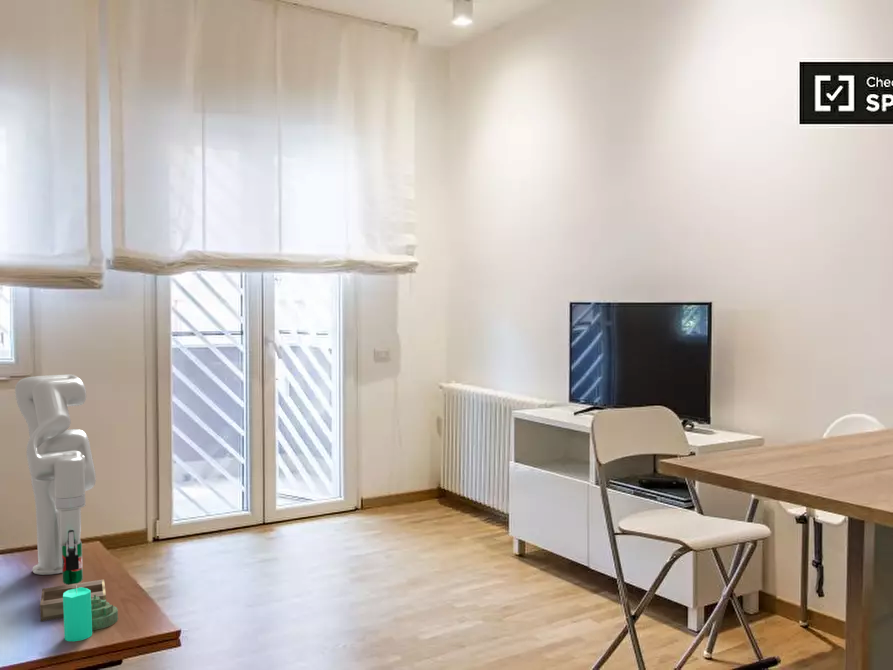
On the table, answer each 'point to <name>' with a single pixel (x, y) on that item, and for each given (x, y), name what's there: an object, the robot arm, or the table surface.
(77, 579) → the soda can
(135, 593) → the table surface
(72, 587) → the open cardboard box
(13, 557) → the table surface
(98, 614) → the decorative artifact
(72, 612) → the candle
